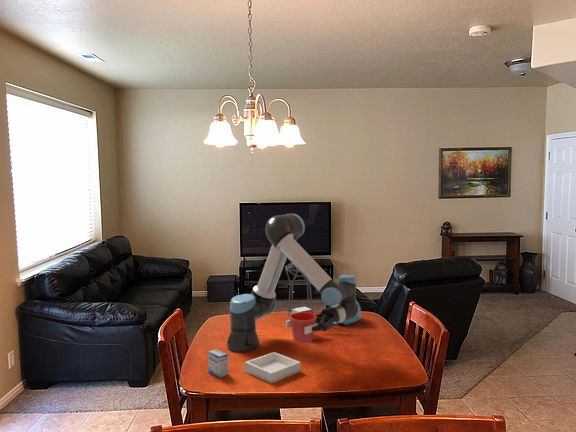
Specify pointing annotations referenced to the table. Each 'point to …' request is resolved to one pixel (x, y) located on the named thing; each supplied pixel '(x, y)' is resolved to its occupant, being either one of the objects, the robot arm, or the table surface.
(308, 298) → the geometric lantern
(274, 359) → the white square tray
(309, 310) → the small box
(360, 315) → the decorative pot
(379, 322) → the table surface
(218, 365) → the medicine box
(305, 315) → the flower pot
